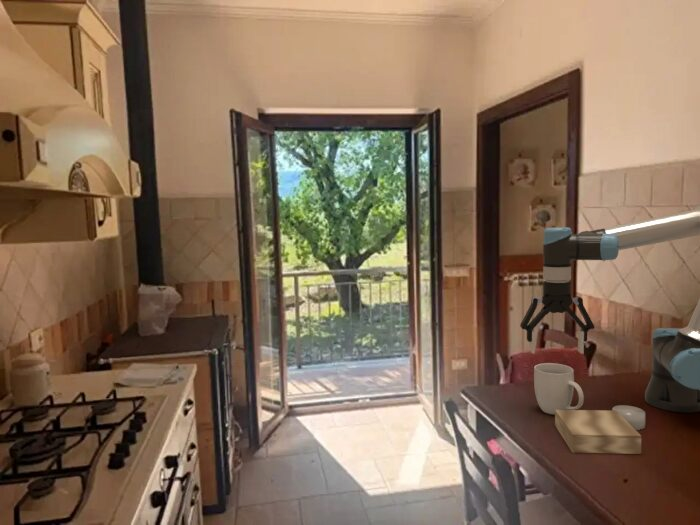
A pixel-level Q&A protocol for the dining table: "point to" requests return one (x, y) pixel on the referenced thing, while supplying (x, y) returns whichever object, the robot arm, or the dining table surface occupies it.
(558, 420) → the beech box
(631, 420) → the stoneware dish
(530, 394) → the dining table surface
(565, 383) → the mug
